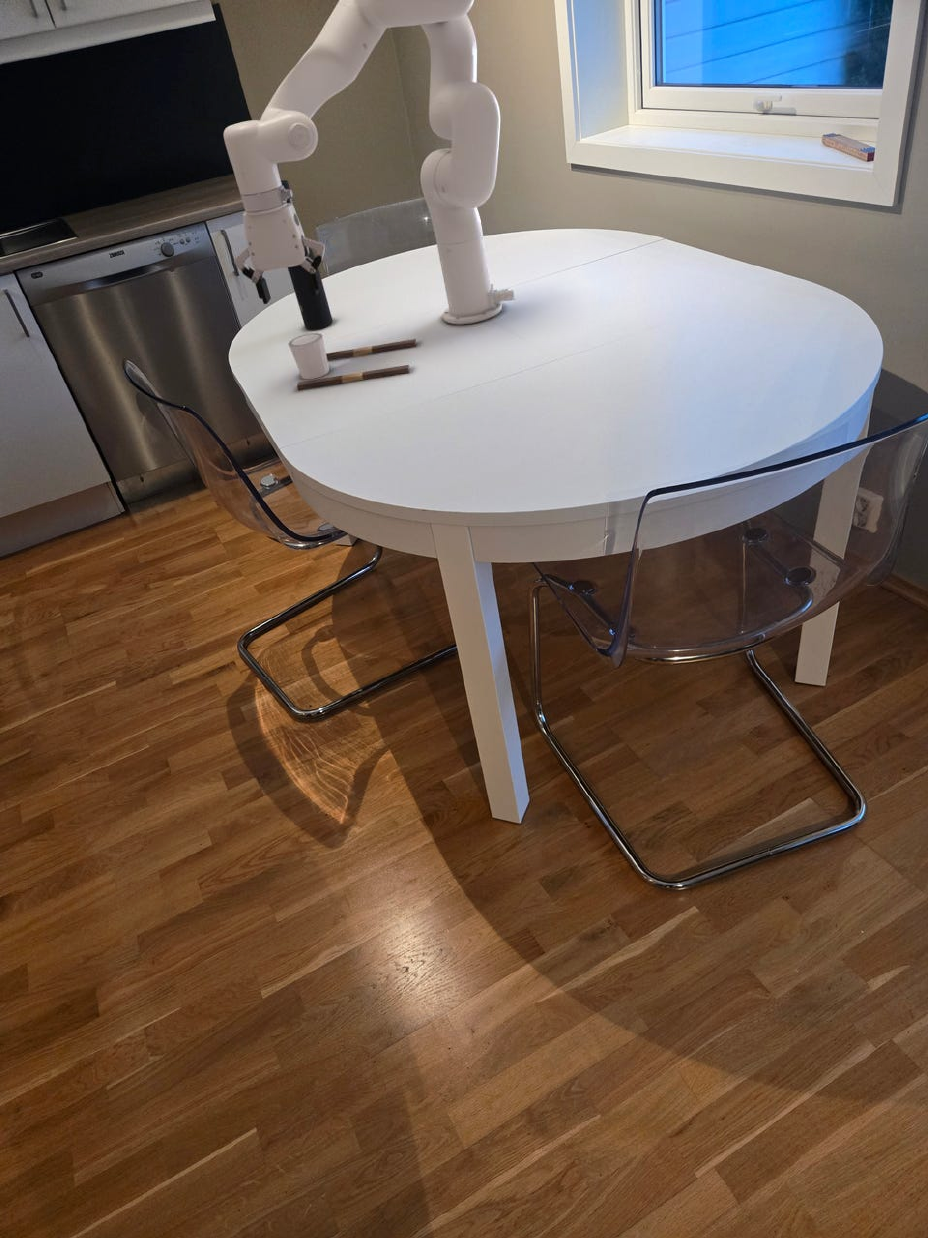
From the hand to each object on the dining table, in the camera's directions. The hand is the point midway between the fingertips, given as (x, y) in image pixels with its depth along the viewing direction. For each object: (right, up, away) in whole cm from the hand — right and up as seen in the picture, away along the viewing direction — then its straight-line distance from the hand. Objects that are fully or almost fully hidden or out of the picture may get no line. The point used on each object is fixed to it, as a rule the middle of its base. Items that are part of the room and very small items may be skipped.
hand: (291, 297), depth 165 cm
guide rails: (+12, -11, +7) cm, 18 cm away
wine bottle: (0, +6, +33) cm, 34 cm away
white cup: (+3, -12, +9) cm, 15 cm away
